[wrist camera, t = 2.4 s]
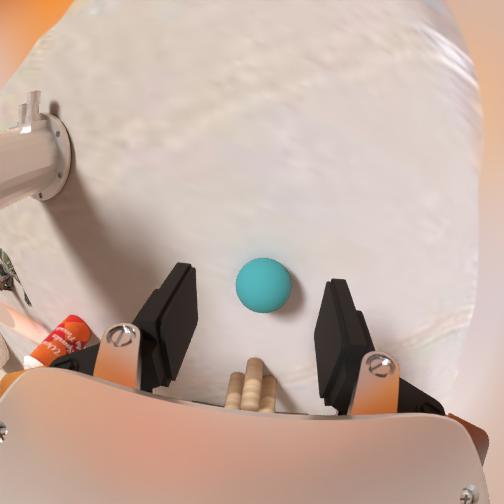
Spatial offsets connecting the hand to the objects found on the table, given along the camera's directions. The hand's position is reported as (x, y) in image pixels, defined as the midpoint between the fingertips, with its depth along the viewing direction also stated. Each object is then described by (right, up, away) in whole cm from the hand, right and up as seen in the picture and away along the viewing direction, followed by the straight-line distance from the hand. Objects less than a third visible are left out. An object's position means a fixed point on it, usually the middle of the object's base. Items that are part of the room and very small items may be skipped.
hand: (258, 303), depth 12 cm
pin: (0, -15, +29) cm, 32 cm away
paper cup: (-32, -11, +31) cm, 45 cm away
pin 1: (-2, -18, +30) cm, 35 cm away
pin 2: (+2, -18, +30) cm, 35 cm away
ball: (+1, -1, +19) cm, 19 cm away
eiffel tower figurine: (-51, -3, +29) cm, 59 cm away
